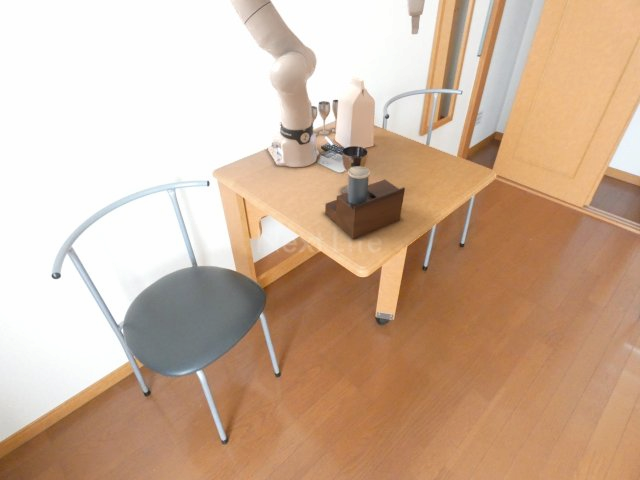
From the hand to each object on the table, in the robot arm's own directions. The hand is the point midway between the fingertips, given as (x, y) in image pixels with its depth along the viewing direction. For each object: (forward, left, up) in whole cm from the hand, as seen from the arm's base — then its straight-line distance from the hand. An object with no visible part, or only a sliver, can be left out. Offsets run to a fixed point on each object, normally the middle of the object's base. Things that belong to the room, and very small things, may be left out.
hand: (415, 32), depth 107 cm
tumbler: (+18, -31, -37) cm, 51 cm away
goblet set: (-45, +4, -47) cm, 65 cm away
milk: (-30, +3, -47) cm, 55 cm away
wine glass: (+1, -20, -47) cm, 51 cm away
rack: (+15, -26, -47) cm, 55 cm away
